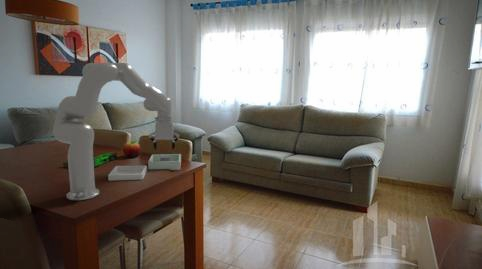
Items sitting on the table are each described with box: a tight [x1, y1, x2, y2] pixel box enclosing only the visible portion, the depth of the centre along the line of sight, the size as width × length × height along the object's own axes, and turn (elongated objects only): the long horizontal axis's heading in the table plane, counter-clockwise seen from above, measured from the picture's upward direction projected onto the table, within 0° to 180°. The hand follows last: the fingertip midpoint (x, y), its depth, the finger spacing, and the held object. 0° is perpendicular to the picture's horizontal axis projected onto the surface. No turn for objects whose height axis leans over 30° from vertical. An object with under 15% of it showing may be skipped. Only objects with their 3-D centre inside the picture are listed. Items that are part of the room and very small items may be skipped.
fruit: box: [122, 140, 142, 158], centre depth 199 cm, size 11×11×10 cm
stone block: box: [160, 155, 170, 161], centre depth 179 cm, size 5×5×5 cm
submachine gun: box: [62, 152, 119, 168], centre depth 183 cm, size 5×29×25 cm
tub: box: [107, 164, 148, 181], centre depth 159 cm, size 16×16×4 cm
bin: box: [147, 153, 182, 171], centre depth 179 cm, size 17×17×5 cm
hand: (164, 149), depth 177 cm, fingers open, 9 cm apart
